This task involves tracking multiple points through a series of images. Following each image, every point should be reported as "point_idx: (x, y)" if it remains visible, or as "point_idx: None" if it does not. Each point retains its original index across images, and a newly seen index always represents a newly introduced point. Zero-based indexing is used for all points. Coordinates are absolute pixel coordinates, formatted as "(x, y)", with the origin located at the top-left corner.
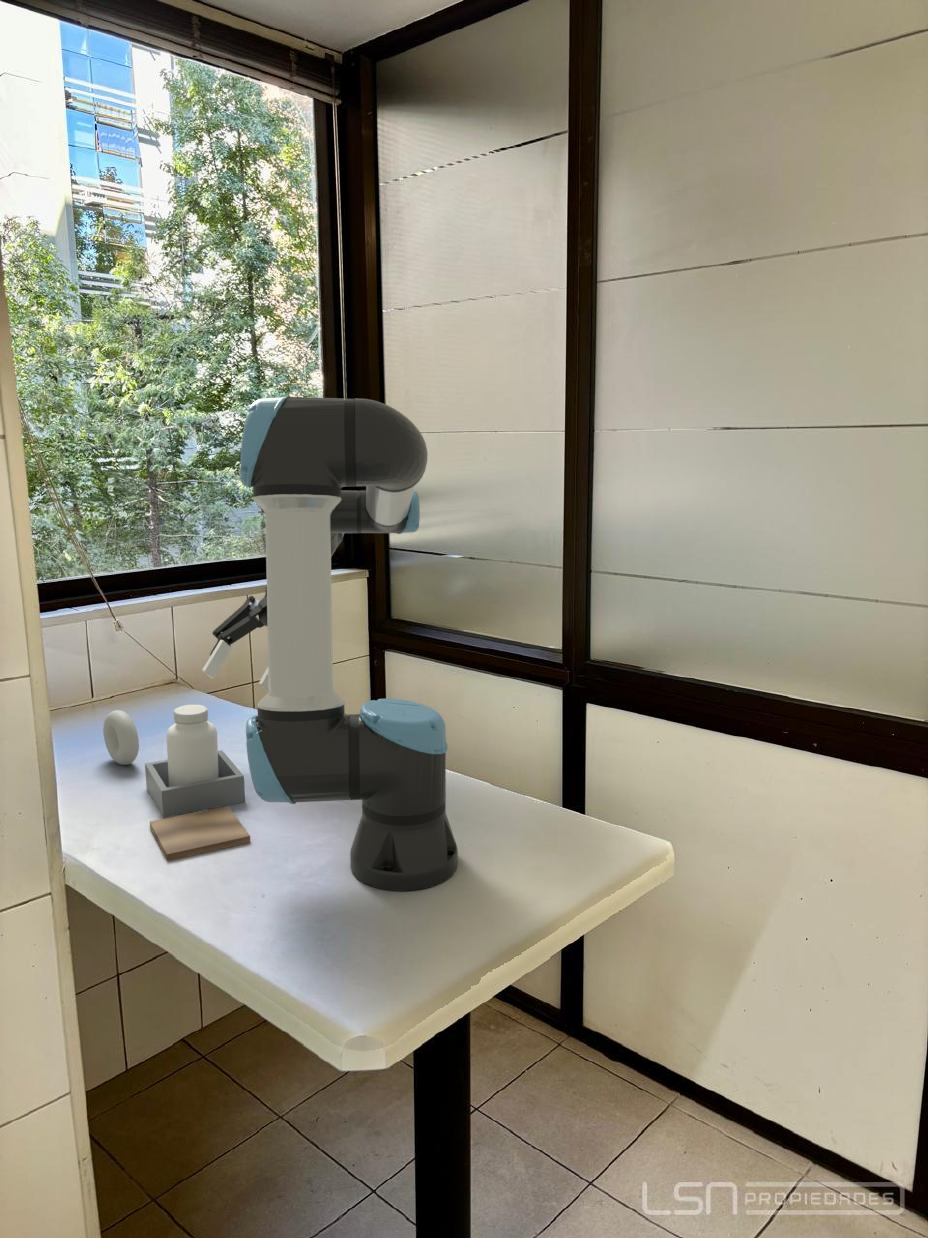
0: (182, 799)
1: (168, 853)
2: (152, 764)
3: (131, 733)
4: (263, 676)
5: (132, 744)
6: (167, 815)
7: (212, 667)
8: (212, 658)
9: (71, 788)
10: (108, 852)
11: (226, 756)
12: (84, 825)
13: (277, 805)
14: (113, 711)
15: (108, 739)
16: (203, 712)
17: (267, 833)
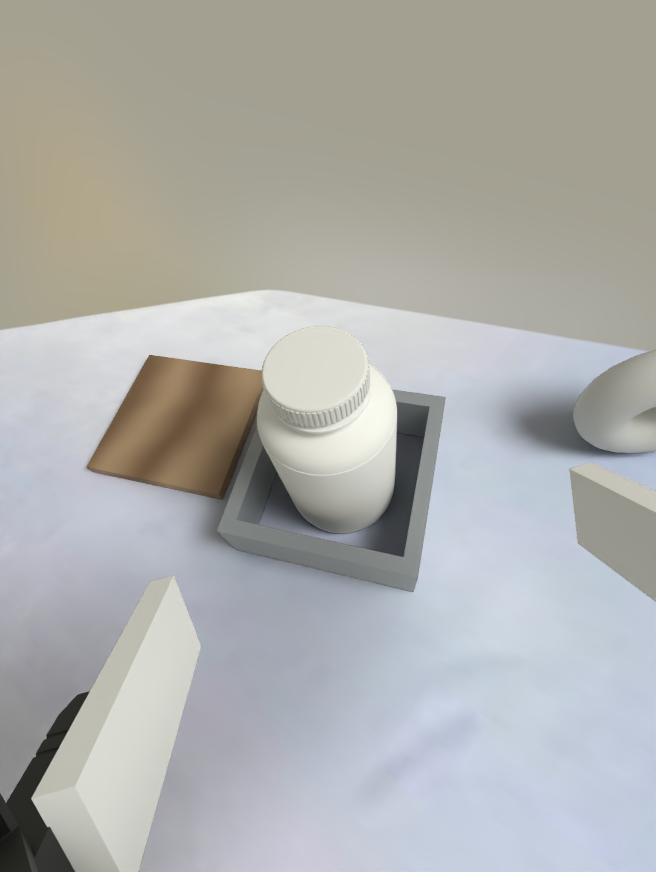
0: None
1: (149, 356)
2: (429, 406)
3: (599, 391)
4: (152, 604)
5: (579, 406)
6: None
7: (602, 517)
8: (630, 499)
9: (524, 335)
10: (241, 317)
11: (364, 563)
12: (351, 316)
13: None
14: None
15: None
16: (265, 386)
17: (92, 510)
